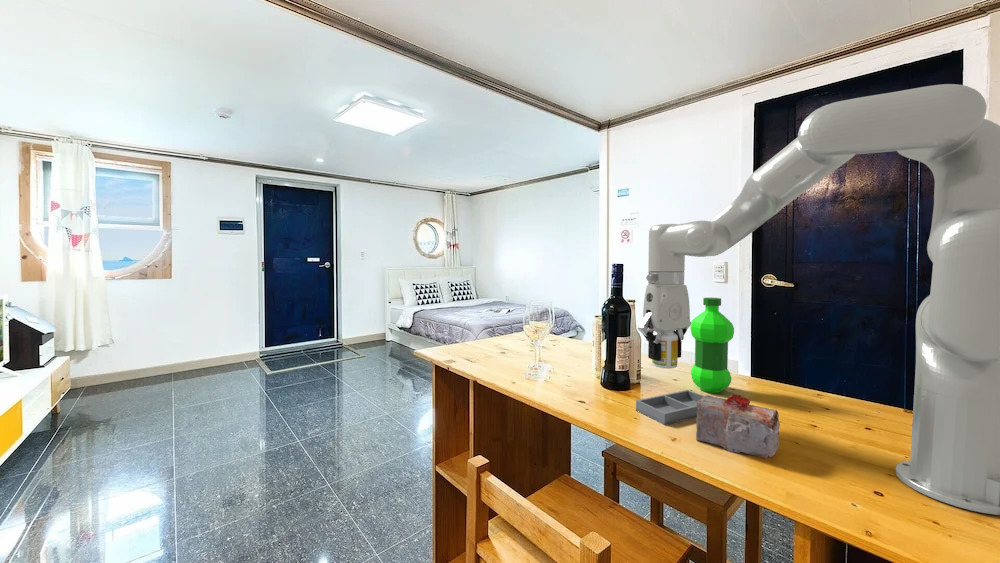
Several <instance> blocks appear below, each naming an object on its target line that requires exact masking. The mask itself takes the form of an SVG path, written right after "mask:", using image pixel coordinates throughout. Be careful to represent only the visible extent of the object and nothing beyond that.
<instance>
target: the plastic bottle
mask: <svg viewBox="0 0 1000 563" xmlns="http://www.w3.org/2000/svg"><path fill="white" fill-rule="evenodd" d="M702 299H703V301H702V302H703V303H702V304H703V306H705V310H703V311H702V312H700V313H699V314H698V315H697V316H695V317H694V318H692V320H691V321H690V322H691V325H690V327H689V328H690V333H691V336H692V337H693V338H694V340H695V343H694V346H695V348H694V364H693V366H692V367H691V370H690V375H691V379H692V382H693V383H694V385H695V386H696V387H698V388H699V389H700V390H701V391H704V392H707V393H712V394H713V393H715V394H716V393H717V394H718V393H721V392H722V391H723V390H725V389H727V388H729V386H730V385H731V383H732V376H731V373H730V371H729V368H728V362H729V361H728V360H729V358H728V356H729V355H728V354H729V342H730V341H732V339H734V335H735V327H734V325H733V323H732V322H731V321H730V320H729V319H728V318H727V317H726V316H725V315H724V314H722V313H721V312H720V311H719V310H720V306H722V298H721V297H702Z"/></svg>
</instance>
